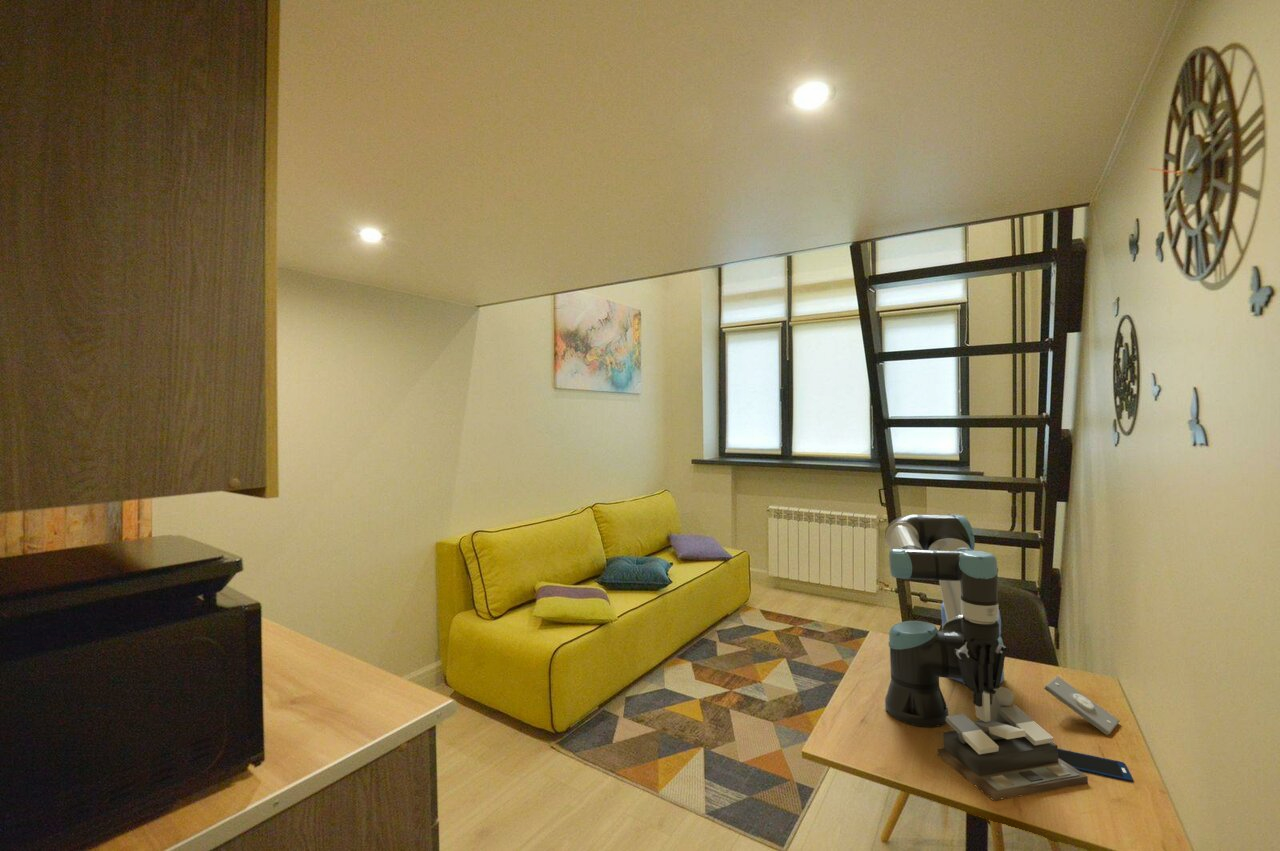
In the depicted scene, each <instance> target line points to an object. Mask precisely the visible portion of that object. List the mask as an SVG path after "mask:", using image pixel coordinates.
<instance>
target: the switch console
mask: <svg viewBox="0 0 1280 851" xmlns="http://www.w3.org/2000/svg"><path fill="white" fill-rule="evenodd" d="M1003 724H1007V725H1010V726H1012V725H1011V724H1010V723H1009V722H1005V723H1003ZM983 732H984V731H983ZM984 733H985V734H986V735H987V732H984ZM942 737H943V747H942V748H941V747H940V748H937V757H939V756H940V757H941V758H942V759H941V758H940V757H939V758H940V759H941V760H943V761H944V762H945V763H946V762H947V763H946V764H947V765H949V766H950V767H951V766H952V767H951V768H953V769H954V770H955V771H956V770H957V771H958V772H957V771H956V772H957V773H959V774H960V775H961V774H962V775H963V776H962V775H961V776H962V777H964V778H965V777H966V778H967V779H968V781H969V780H970V781H971V782H972V783H973V784H974V785H973V784H972V783H971V782H970V781H969V782H970V783H971V784H972V785H973V786H975V785H976V786H977V787H978V788H979V789H978V788H977V787H976V786H975V787H976V788H977V789H978V790H979V791H981V790H982V791H983V792H984V793H983V792H982V791H981V792H982V793H983V794H985V793H986V794H987V795H988V796H989V797H990V798H989V797H988V796H987V795H986V794H985V795H986V796H987V797H988V798H989V799H991V798H992V799H993V800H996V801H999V800H998V799H1001V798H1007V799H1009V798H1008V797H1012V798H1016V797H1015V796H1018V797H1021V796H1020V795H1023V796H1027V795H1026V794H1028V795H1032V794H1038V793H1043V792H1049V791H1053V790H1059V789H1064V788H1069V787H1075V786H1080V785H1085V784H1088V783H1089V777H1088V775H1087V774H1085V773H1084V772H1082V771H1079V770H1077V769H1075V768H1074V767H1072V766H1071V765H1069V764H1067V763H1066V762H1064V761H1063V760H1061V759H1059V758H1058V749H1059V747H1058V744H1056V743H1055V742H1054V741H1053V742H1052V743H1046V744H1041V745H1035V746H1034V745H1033V744H1032V743H1031V742H1030V741H1029V740H1028V739H1027V738H1025V737H1019V738H1013V739H1005V738H1004V739H997V740H993V741H994V742H995V743H996V744H997V745H998V746H999V750H998V751H997V752H991V753H985V754H978V753H977V752H976V751H975V750H974V749H973V748H972V747H971V746H970V745H969V744H968V743H965V744H962V743H961V742H960V741H959V738H958V733H957V732H956V731H955V730H950V731H943V733H942ZM966 778H965V779H966ZM967 779H966V780H967ZM992 799H991V800H992ZM993 800H992V801H993Z"/></svg>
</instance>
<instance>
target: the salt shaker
mask: <svg viewBox="0 0 1280 851" xmlns="http://www.w3.org/2000/svg"><path fill="white" fill-rule="evenodd" d="M993 690H995V691H996V693H995V694H992V704H991V705H990V720H994V721H997V722H1000V723H1005V722H1008V721H1007V720H1005V719H1004V718H1003V717H1002V716H1001V715H1000V714H999V713H998V708H1002V707H1008V706H1012V705H1013V703H1014V700H1015V696H1014V693H1013V692H1012V691H1011V689H1009V688H1007V687H1005V686H1001V685H1000V687H999V688H998V689H996V688H995V689H993Z"/></svg>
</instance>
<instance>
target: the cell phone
mask: <svg viewBox="0 0 1280 851" xmlns="http://www.w3.org/2000/svg"><path fill="white" fill-rule="evenodd" d="M1058 758H1059V759H1061V760H1063V761H1064V762H1066V763H1067V764H1069V765H1071V766H1072V767H1074V768H1075V769H1077V770H1079V771H1080V772H1082V773H1086V774H1091V775H1097V776H1101V777H1104V778H1110V779H1113V780H1119V781H1123V782H1126V783H1127V782H1128V783H1134V778H1133V776H1132V774H1131V772H1130V770H1129V768H1128V766H1127V764H1126V763H1124V762H1123V761H1119V760H1115V759H1111V758H1110V759H1109V758H1106V757H1105V758H1104V757H1100V756H1096V755H1090V754H1086V753H1080V752H1076V751H1071V750H1066V749H1062V748H1058Z"/></svg>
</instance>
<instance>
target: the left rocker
mask: <svg viewBox="0 0 1280 851" xmlns="http://www.w3.org/2000/svg"><path fill="white" fill-rule="evenodd" d="M973 722H974V721H973V720H972V719H970V718H969V717H968V716H967V715H966V714H965V713H959V714H953V715H948V716H946V723H947V724H948V725H949V726H950V727H951V728H952V729H953V731H956V732H957V733H958V738H959V741H960V742H961V743H962V744H965V743H968V744H969V745H970V746H971V747H972V748H973V749H974V750H975V751H976V752H977V753H978V754H985V753H991V752H997V751H998V750H999V746H998V745H997V744H996V743H995V742H994V741H993V740H992V739H990V738H989V737H988V736H987V735H986V734H985V733H984V732H983V731H982V730H981V729H980V728H979V727H978V726H977V725H976V724H975V723H973Z"/></svg>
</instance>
